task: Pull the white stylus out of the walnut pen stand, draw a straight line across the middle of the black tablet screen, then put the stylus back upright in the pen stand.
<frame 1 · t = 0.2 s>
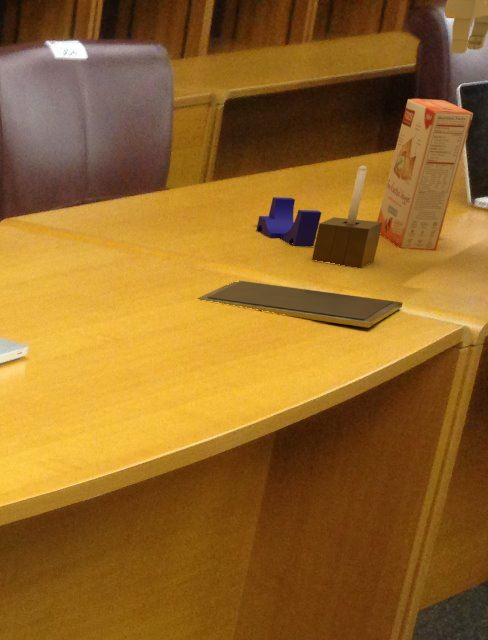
hand: (466, 51, 216), 30 cm above the table, tool pointing down, fingers open, 8 cm apart
tablet: (298, 305, 205), on the table
cable clip: (282, 244, 244), on the table
pen stand: (342, 263, 230), on the table
cracker box: (402, 243, 245), on the table
stylus: (352, 215, 227), in the pen stand
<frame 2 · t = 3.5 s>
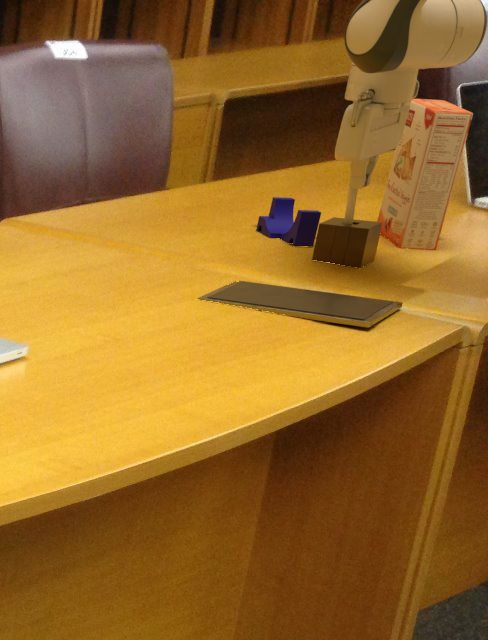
hand: (358, 187, 225), 11 cm above the table, tool pointing down, fingers closed on stylus, 1 cm apart
stylus: (349, 215, 227), in the pen stand, touching gripper
everything else where it was.
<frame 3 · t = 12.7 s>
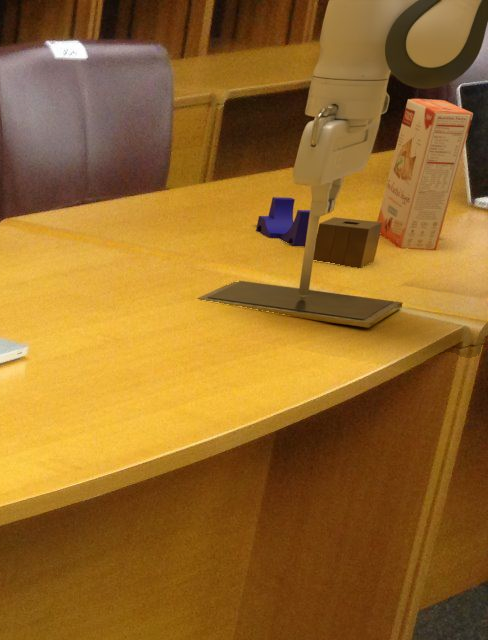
hand: (321, 214, 200), 12 cm above the table, tool pointing down, fingers closed on stylus, 1 cm apart
stylus: (310, 244, 202), point 8 cm above the table, touching gripper
everything else where it was.
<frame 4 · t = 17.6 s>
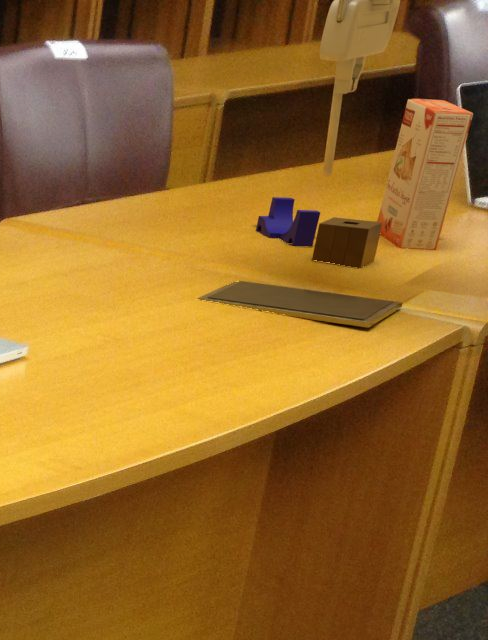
hand: (344, 92, 210), 25 cm above the table, tool pointing down, fingers closed on stylus, 1 cm apart
stylus: (334, 123, 212), point 21 cm above the table, touching gripper
everything else where it was.
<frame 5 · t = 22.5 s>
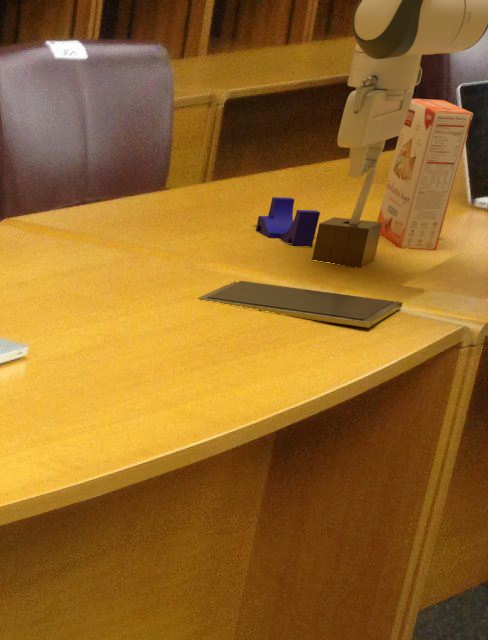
hand: (361, 174, 225), 13 cm above the table, tool pointing down, fingers open, 5 cm apart
stylus: (356, 216, 227), in the pen stand, tilted 7°
everything else where it was.
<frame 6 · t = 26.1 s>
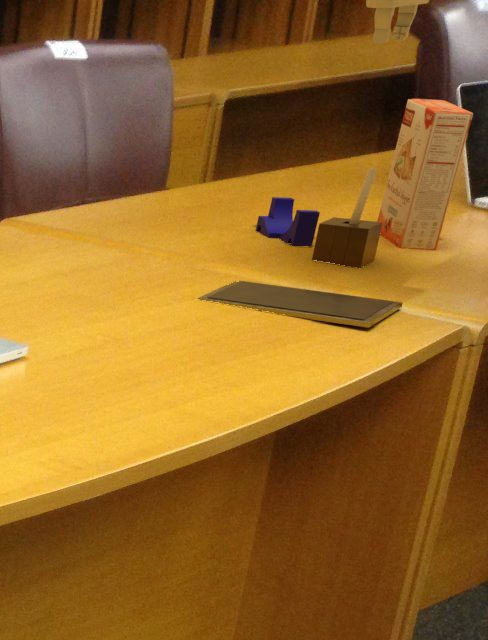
hand: (389, 41, 217), 31 cm above the table, tool pointing down, fingers open, 8 cm apart
nothing on the table moved.
at the end: stylus 0.4 cm off-centre in the pen stand, point 7.0 cm above the pen stand's base; stylus tilted 7°; stylus touching pen stand, table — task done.
